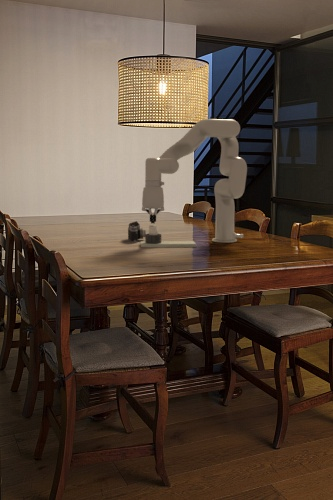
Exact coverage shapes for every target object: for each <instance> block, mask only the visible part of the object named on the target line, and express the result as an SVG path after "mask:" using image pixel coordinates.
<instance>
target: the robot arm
mask: <svg viewBox="0 0 333 500" xmlns="http://www.w3.org/2000/svg"><path fill="white" fill-rule="evenodd" d="M239 123H240V122H238V121H236V120H235V119H223V118H222V119H217V118H210V119H209V118H207V119H201V120H199V121H197V122H196V123H195V124H194V125H193V126H192V127H191V128H190V130H188V131H187V132H186V133H185V134H184V135H183V137H182V138H180V139H179V140H178V141H176V142H175V143H174V144H172V145H171V146H170V147H169V148H168V149H166V150H165V151H164V152H163V153H162V154H161V155H160V156H159V157H148V158H146V159H145V162H144V163H145V165H144V167H145V169H144V170H145V173H144V174H145V184H144V187H143V190H142V196H141V197H142V199H141V203H142V205H141V206H142V207H141V211H142V212H146V213H147V214H149V223H151V224H153V225H154V224H156V223H155V222H157V215H158V214H159V213H160V212H164V211H165V207H164V206H165V200H164V198H165V196H164V188H163V187H162V186H165V182H164V181H162V175H163V174H164V175H167V174H168V175H173V174H175V173H176V172H178V171H179V168H180V164H179V160H180V159H181V158H183V157H186V156H188V155H190V154H193V153H194V152H195V151H196V150H197V149H198V148H199V147H200V146H201V144H203V142H205V140H206V139H207V138H217V140H218V141H219V143H220V147H221V149H220V150H221V152H220V158H219V159H220V160H219V161H220V162H219V172H220V174H221V175H223V176H226V177H228V178H221V179H219V180H218V181H216V182H215V185H214V188H213V189H214V191H213V192H214V193H213V194H214V197H215V198H214V199H215V223H214V225H215V226H214V227H215V228H214V229H215V231H214V234H215V235H214V236H215V237H213V238H212V239H211V241H212V242H214V243H225V244H227V243H228V244H230V243H236V242H237V241H238V238H239V239H242V238H243V239H244V234H243V233H236V232H235V213H236V212H235V209H236V207H235V200H234V199H239V198H241V197H242V196H243V194H244V193H245V189H246V182H247V176H248V175H247V173H248V165H247V162H246V160H245V159H244V158H242V157H239V148H240V146H239V142H238V141H239V140H238V139H237V136H238V135H239V134H240V131H241V125H240V124H239ZM152 209H153V210H154V211H152ZM152 212H153V213H152Z"/></svg>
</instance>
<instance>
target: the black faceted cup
mask: <svg viewBox="0 0 333 500" xmlns="http://www.w3.org/2000/svg"><path fill="white" fill-rule="evenodd" d="M144 241H145V243H148V244H159V243H161V241H162V233H158V235H149V233H146V234H145V237H144Z"/></svg>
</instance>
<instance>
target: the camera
mask: <svg viewBox="0 0 333 500" xmlns="http://www.w3.org/2000/svg"><path fill="white" fill-rule="evenodd" d="M127 231H128V232H127V236H128V237H127V238H128V241H129V242H130V243H131V244H133V243H134V244H137V243H139V240H140V239H141V240H143V239H144V238H145V234H147V231H146V229H144V228H141V225H140V223H139V222H138V221H137V220H136V221H133V222H132V221H131V222H130V223H129V224H128V228H127Z"/></svg>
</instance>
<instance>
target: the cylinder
mask: <svg viewBox="0 0 333 500" xmlns="http://www.w3.org/2000/svg"><path fill="white" fill-rule="evenodd" d="M148 234H149V235H158V234H159V225H154V224H153V225H148Z"/></svg>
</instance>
